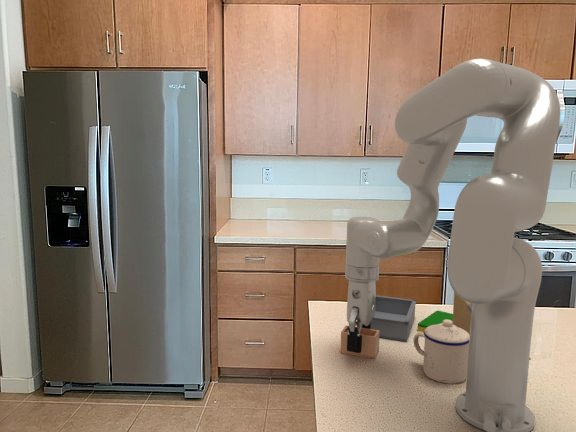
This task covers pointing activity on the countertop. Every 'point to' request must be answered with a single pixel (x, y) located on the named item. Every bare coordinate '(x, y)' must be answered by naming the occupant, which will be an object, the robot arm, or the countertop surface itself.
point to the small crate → (363, 342)
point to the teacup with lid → (444, 352)
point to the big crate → (393, 317)
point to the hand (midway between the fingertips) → (358, 343)
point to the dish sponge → (434, 320)
